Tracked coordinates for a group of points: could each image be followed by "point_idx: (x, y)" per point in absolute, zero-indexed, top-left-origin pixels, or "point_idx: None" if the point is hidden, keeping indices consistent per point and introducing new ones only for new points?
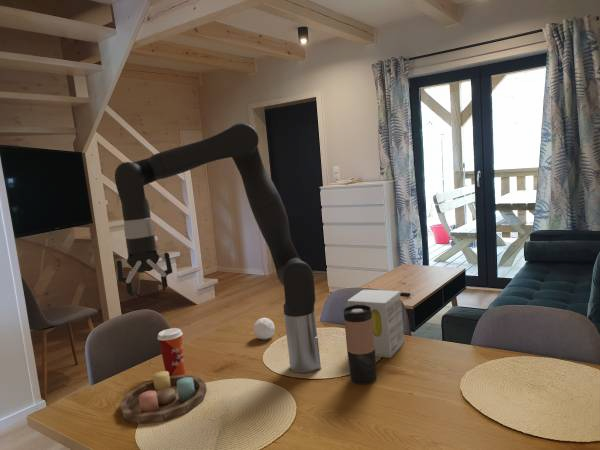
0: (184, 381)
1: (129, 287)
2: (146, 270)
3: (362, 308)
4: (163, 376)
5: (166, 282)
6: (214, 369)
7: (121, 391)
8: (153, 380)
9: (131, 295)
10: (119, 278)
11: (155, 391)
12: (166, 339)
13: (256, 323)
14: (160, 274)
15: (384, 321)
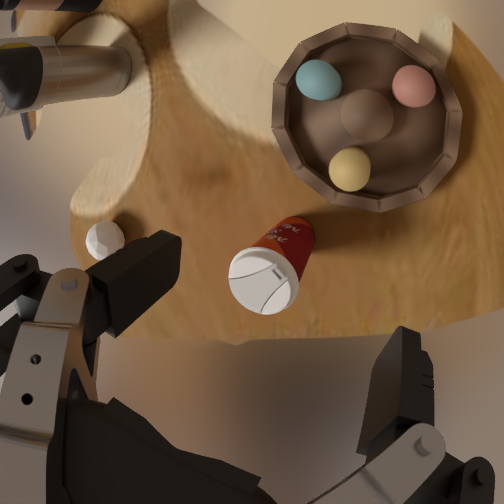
0: (318, 76)
1: (415, 392)
2: (156, 441)
3: (2, 4)
4: (349, 152)
5: (117, 254)
6: (225, 185)
7: (409, 261)
8: (358, 207)
9: (413, 331)
10: (486, 492)
11: (394, 84)
12: (282, 259)
13: (104, 249)
14: (82, 299)
15: (11, 40)
